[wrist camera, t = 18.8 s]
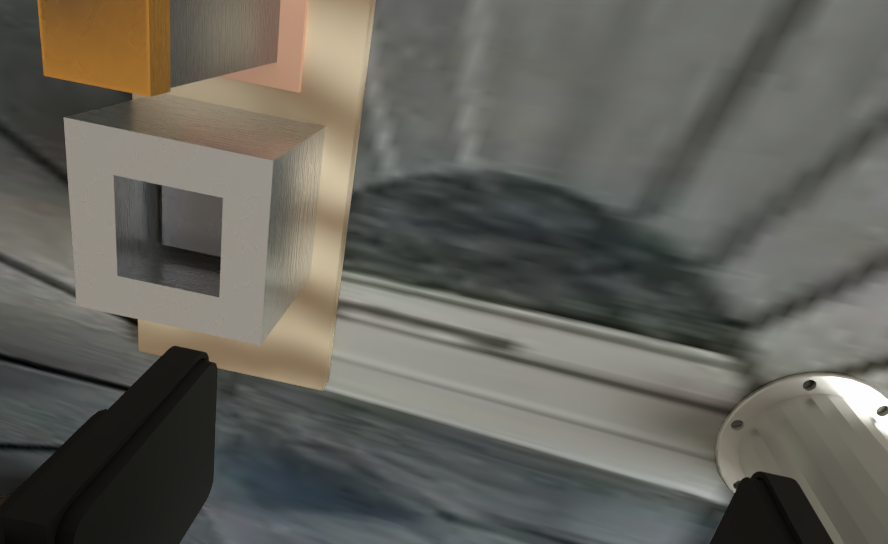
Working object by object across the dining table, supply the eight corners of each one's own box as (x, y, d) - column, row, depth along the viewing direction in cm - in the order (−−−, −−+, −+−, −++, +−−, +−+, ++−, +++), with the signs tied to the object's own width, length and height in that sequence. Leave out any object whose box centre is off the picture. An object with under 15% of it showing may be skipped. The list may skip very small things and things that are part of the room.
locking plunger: (244, 252, 37) (235, 260, 36) (172, 237, 37) (162, 244, 36) (247, 182, 35) (239, 187, 34) (172, 166, 35) (161, 171, 34)
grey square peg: (278, 64, 36) (150, 96, 24) (208, 50, 37) (43, 75, 24) (283, -14, 35) (148, -24, 22) (209, -28, 35) (33, -47, 22)
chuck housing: (310, 278, 42) (260, 345, 34) (161, 247, 42) (76, 306, 34) (325, 126, 38) (273, 160, 30) (160, 92, 38) (63, 117, 30)
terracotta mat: (300, 92, 37) (298, 92, 37) (187, 68, 37) (184, 69, 37) (311, -37, 34) (309, -37, 34) (188, -61, 35) (185, -62, 34)
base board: (328, 379, 47) (323, 390, 46) (149, 341, 47) (138, 350, 46) (379, -24, 36) (373, -25, 34) (142, -71, 36) (128, -74, 35)
